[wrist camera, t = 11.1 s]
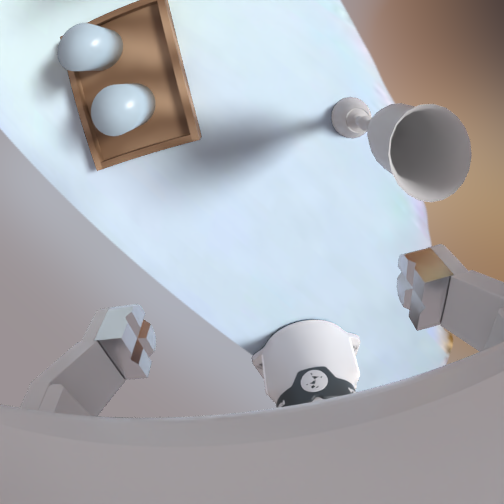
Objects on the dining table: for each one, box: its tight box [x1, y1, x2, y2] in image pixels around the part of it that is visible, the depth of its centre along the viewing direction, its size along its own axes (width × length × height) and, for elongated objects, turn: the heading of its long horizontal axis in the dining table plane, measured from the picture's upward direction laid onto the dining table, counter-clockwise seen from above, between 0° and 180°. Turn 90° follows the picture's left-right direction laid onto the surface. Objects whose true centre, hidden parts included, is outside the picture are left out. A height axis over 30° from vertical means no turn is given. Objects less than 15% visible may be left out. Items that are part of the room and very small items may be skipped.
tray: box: [60, 0, 202, 171], centre depth 29 cm, size 18×13×2 cm
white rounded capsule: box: [58, 23, 123, 71], centre depth 25 cm, size 5×5×6 cm
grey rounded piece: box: [91, 83, 156, 136], centre depth 29 cm, size 5×5×6 cm
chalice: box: [331, 97, 471, 202], centre depth 26 cm, size 7×7×18 cm
